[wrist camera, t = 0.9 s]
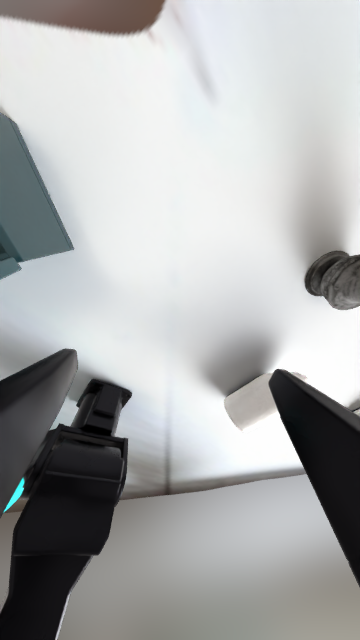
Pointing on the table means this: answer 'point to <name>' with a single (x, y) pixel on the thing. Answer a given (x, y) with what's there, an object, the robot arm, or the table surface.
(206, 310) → the table surface
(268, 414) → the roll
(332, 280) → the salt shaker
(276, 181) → the table surface
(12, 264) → the green box lid
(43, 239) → the open-top green box
